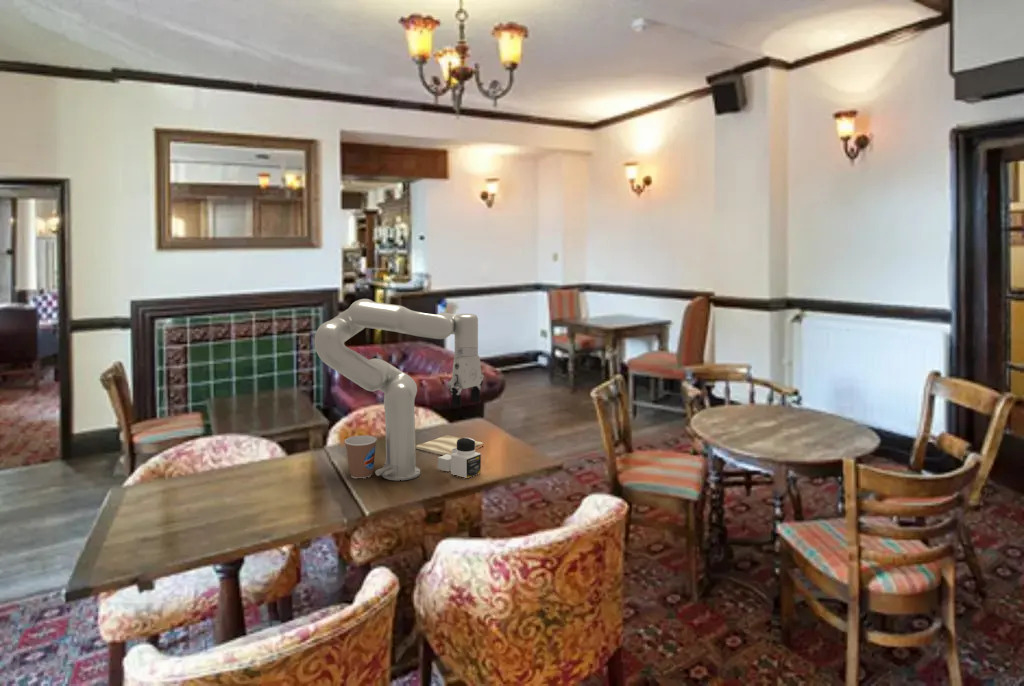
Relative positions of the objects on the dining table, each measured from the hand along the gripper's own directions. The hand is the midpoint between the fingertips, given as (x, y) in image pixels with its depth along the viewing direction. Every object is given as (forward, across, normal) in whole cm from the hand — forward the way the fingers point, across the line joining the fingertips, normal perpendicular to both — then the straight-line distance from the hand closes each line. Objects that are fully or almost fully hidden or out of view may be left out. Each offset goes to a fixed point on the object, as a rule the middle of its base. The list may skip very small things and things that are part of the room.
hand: (466, 403), depth 209 cm
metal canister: (+24, +7, +9) cm, 26 cm away
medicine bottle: (+24, 0, 0) cm, 24 cm away
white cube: (+24, 0, +8) cm, 25 cm away
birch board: (+24, +19, +23) cm, 38 cm away
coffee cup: (+24, -21, +27) cm, 42 cm away
